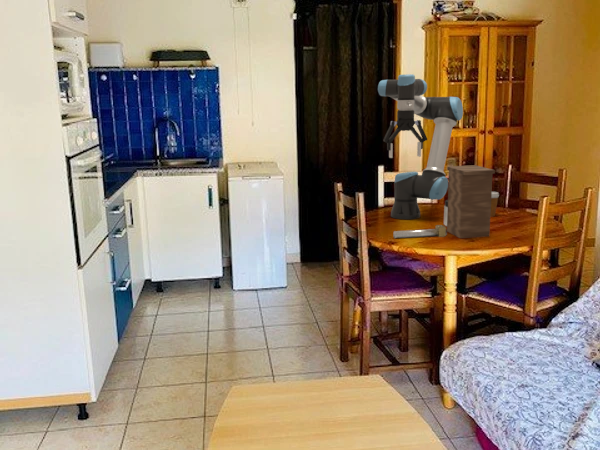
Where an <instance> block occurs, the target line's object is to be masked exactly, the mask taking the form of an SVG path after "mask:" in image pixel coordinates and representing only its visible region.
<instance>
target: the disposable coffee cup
mask: <svg viewBox="0 0 600 450" xmlns="http://www.w3.org/2000/svg"><path fill="white" fill-rule="evenodd" d="M499 196H500V193H499V192H497V191H492V195H491V215H490V218H492V217H495V215H496V212H497V205H498V200H499Z"/></svg>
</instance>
